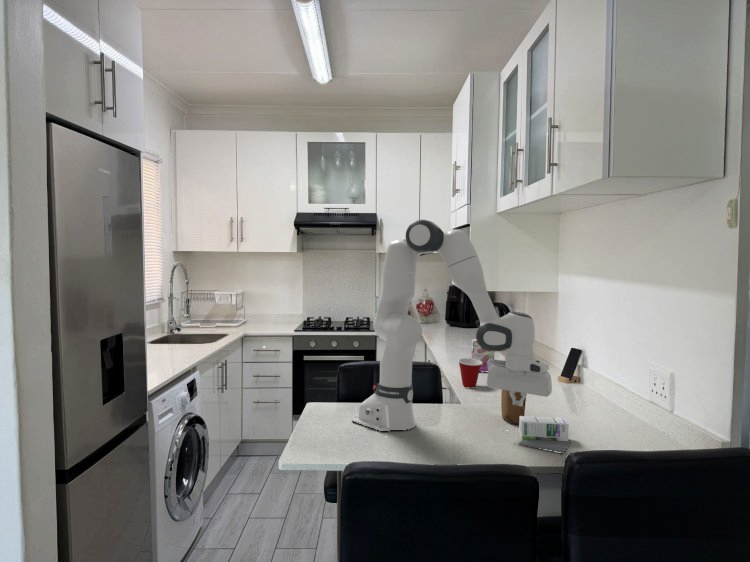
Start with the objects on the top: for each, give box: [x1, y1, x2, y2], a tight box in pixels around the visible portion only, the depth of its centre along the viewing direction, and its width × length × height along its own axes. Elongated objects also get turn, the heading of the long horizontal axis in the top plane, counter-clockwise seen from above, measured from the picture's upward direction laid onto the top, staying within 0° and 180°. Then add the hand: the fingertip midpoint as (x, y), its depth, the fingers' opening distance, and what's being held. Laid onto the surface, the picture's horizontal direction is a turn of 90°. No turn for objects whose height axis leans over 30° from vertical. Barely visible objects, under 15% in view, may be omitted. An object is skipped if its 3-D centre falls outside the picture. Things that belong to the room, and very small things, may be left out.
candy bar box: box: [470, 338, 495, 371], centre depth 253 cm, size 11×5×16 cm, turn 89°
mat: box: [518, 438, 572, 453], centre depth 154 cm, size 13×12×1 cm
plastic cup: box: [457, 357, 482, 388], centre depth 222 cm, size 11×11×12 cm
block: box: [500, 389, 527, 425], centre depth 176 cm, size 11×8×20 cm
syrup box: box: [518, 415, 569, 441], centre depth 158 cm, size 6×6×14 cm
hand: (517, 405), depth 158 cm, fingers closed
